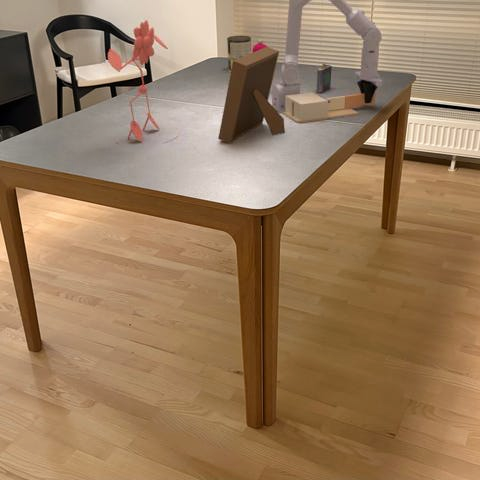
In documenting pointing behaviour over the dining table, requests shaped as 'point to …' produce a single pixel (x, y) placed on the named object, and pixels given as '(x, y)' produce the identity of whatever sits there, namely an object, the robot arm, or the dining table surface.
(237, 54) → the coffee can
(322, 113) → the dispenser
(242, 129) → the photo frame
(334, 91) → the dining table surface
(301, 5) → the robot arm
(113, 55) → the pink stick figure
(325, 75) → the flask
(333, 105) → the long copper stick
